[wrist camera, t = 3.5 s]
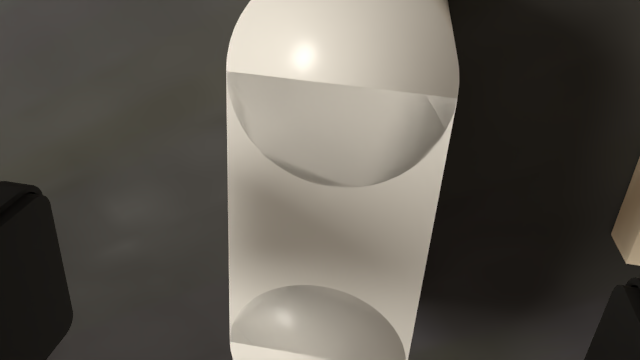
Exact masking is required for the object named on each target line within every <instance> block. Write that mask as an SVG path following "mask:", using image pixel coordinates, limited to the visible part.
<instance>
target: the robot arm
mask: <svg viewBox="0 0 640 360" xmlns="http://www.w3.org/2000/svg"><path fill="white" fill-rule="evenodd" d="M72 319H73V310H72V306H71V301H70V296H69V291H68V287H67V282H66V277H65V272H64V267H63V263H62V258H61V253H60V248H59V243H58V239H57V234H56V229H55V224H54V219H53V215H52V210H51V205H50V202H49V200H48V198H47V197H46V196H43V195H42V192H41V191H40V189H39V188H38V187H36V186H34V185H27V184H20V183H14V182H7V181H0V360H46V359H47V358H48V356H49V355H50V354H51V353H52V351H53V350H54V349H55V348H56V346H57V345H58V344H59V342H60V341H61V340H62V339H63V337H64V336H65V335H66V333H67V332H68V330H69V328H70V326H71V323H72ZM584 360H640V278H631V279H630V280H629V281H628V282H627V284H626V286H624V285H617V286H616V287H615V288H614V290H613V291H612V294H611V296H610V299H609V301H608V303H607V306H606V308H605V311H604V313H603V315H602V318H601V320H600V323H599V325H598V328H597V330H596V332H595V335H594V337H593V340H592V342H591V344H590V347H589V349H588V352H587V354H586V357H585V359H584Z"/></svg>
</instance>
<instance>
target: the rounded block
mask: <svg viewBox="0 0 640 360" xmlns="http://www.w3.org/2000/svg"><path fill="white" fill-rule="evenodd" d="M226 86H227V162H228V237H229V313H230V348H231V353H232V357H233V360H408V356H409V351H410V345H411V340H412V335H413V330H414V324H415V319H416V314H417V309H418V303H419V298H420V293H421V288H422V282H423V277H424V272H425V267H426V261H427V256H428V251H429V246H430V240H431V235H432V230H433V225H434V219H435V214H436V209H437V204H438V198H439V193H440V188H441V183H442V177H443V172H444V167H445V162H446V156H447V151H448V146H449V141H450V135H451V130H452V125H453V120H454V114H455V109H456V104H457V99H458V90H459V64H458V58H457V52H456V46H455V40H454V34H453V28H452V23H451V17H450V11H449V5H448V0H251V1H250V2H249V4H248V5H247V7H246V8H245V10H244V11H243V12H242V14H241V16H240V18H239V20H238V22H237V24H236V26H235V28H234V31H233V34H232V37H231V40H230V44H229V49H228V54H227V67H226Z"/></svg>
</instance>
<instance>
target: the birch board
mask: <svg viewBox="0 0 640 360" xmlns="http://www.w3.org/2000/svg"><path fill="white" fill-rule="evenodd" d="M611 236H612V238H613V239H614V241H615V243H616V245H617V247H618V249H619V251H620V253H621V255H622V257H623V259H624V260H625V262H626V264H632V265H639V266H640V157H639V160H638V163H637V165H636V168H635V171H634V174H633V176H632V179H631V182H630V184H629V187H628V190H627V192H626V195H625V198H624V201H623V203H622V206H621V209H620V211H619V214H618V217H617V219H616V222H615V225H614V228H613V230H612V233H611Z"/></svg>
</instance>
